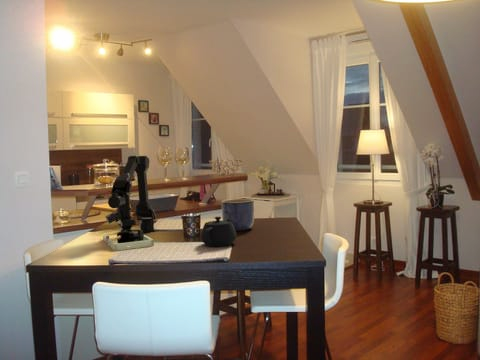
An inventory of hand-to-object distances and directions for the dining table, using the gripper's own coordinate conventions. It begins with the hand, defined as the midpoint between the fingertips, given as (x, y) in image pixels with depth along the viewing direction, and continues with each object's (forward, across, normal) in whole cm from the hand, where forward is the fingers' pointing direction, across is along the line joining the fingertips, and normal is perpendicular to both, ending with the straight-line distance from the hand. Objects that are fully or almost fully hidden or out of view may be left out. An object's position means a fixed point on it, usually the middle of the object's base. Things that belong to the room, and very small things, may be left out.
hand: (125, 238), depth 223 cm
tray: (+1, +9, 0) cm, 9 cm away
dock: (+2, -8, 0) cm, 8 cm away
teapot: (+2, +32, +34) cm, 47 cm away
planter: (+2, +3, +57) cm, 57 cm away
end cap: (+2, +8, 0) cm, 8 cm away
